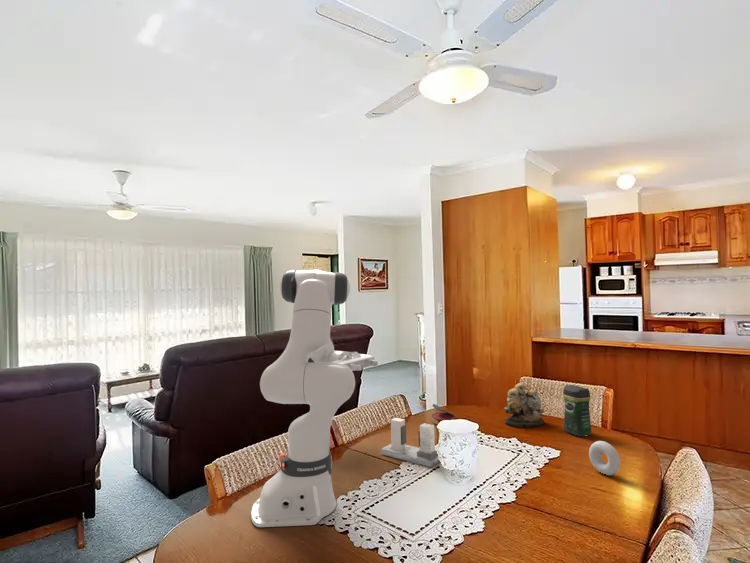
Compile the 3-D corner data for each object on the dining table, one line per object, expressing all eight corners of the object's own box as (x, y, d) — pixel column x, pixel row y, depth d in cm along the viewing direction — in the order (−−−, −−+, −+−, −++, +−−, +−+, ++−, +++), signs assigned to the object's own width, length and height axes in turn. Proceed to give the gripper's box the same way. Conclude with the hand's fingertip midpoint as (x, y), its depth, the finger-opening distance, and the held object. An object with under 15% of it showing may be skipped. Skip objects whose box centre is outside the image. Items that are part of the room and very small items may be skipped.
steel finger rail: (381, 454, 150) (380, 420, 150) (394, 447, 156) (393, 414, 157) (431, 467, 138) (430, 430, 138) (442, 459, 144) (441, 424, 145)
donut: (623, 479, 127) (622, 446, 127) (615, 481, 125) (614, 448, 126) (594, 466, 136) (593, 435, 136) (586, 468, 135) (585, 437, 135)
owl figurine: (512, 430, 173) (510, 388, 173) (497, 421, 184) (496, 382, 184) (551, 425, 177) (549, 384, 177) (534, 417, 188) (532, 379, 188)
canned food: (433, 430, 187) (431, 407, 192) (456, 429, 185) (453, 406, 190) (431, 426, 177) (429, 402, 182) (455, 424, 176) (452, 400, 181)
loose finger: (391, 453, 150) (390, 419, 150) (396, 450, 153) (395, 417, 153) (402, 456, 148) (401, 422, 148) (407, 453, 150) (406, 419, 150)
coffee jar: (595, 435, 164) (594, 387, 164) (579, 438, 161) (578, 389, 161) (576, 428, 173) (574, 382, 173) (560, 430, 170) (559, 384, 170)
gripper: (322, 358, 158) (351, 361, 150) (357, 351, 174) (384, 353, 166) (323, 375, 158) (351, 379, 150) (357, 366, 174) (385, 369, 166)
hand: (369, 365), depth 158 cm, fingers open, 8 cm apart
